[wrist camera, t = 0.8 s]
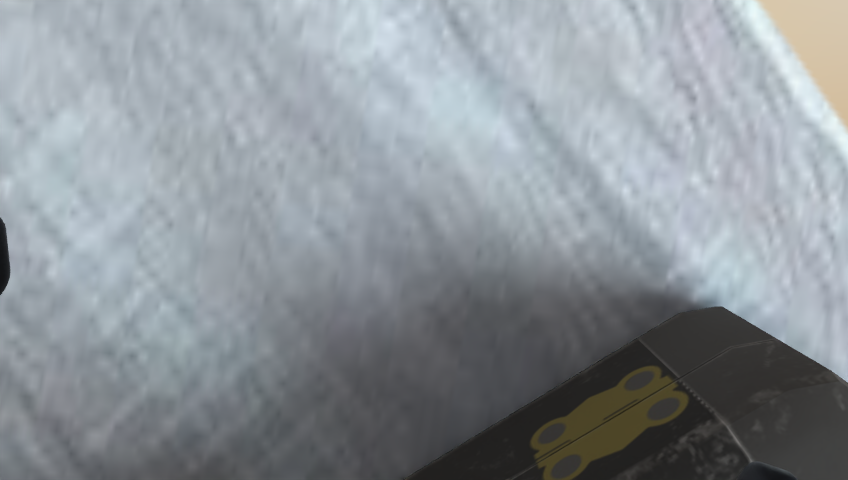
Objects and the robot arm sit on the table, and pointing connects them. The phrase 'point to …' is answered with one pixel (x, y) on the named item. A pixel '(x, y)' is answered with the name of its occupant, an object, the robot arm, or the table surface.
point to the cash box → (672, 413)
